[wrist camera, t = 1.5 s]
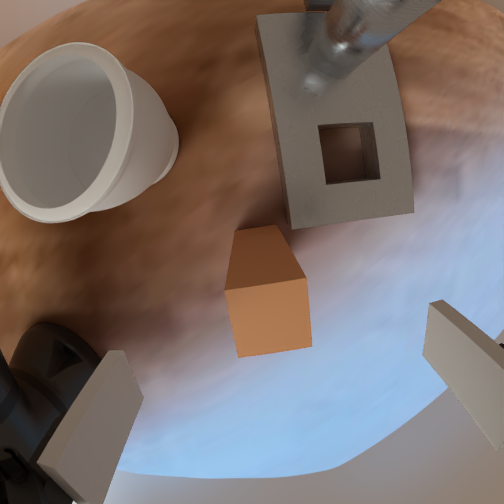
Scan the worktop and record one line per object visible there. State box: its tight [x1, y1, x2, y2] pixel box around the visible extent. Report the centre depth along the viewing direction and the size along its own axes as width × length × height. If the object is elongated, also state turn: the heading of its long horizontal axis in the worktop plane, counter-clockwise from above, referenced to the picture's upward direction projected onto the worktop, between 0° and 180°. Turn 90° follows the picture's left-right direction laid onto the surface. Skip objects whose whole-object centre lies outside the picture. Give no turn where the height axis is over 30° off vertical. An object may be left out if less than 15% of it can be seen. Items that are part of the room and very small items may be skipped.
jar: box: [0, 42, 179, 223], centre depth 19 cm, size 11×10×15 cm
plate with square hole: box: [255, 0, 441, 230], centre depth 17 cm, size 12×22×18 cm, turn 9°
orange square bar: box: [224, 224, 312, 358], centre depth 22 cm, size 4×4×15 cm
